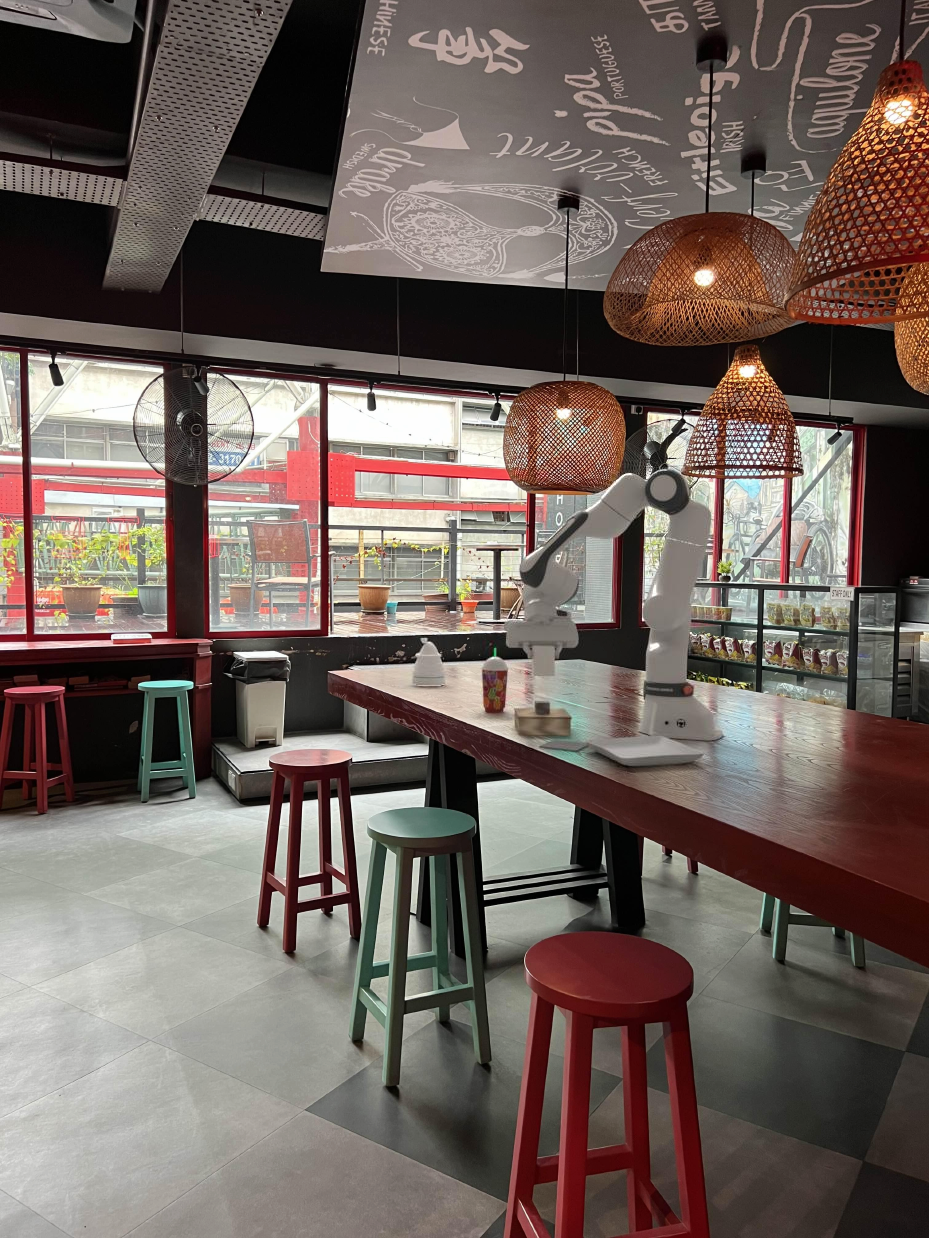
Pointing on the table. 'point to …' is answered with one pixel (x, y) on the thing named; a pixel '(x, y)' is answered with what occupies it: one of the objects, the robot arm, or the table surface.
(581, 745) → the mat
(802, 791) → the table surface
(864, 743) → the table surface
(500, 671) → the smoothie
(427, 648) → the honey pot
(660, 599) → the robot arm
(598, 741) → the salad plate
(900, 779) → the table surface
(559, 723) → the box
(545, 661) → the cap
